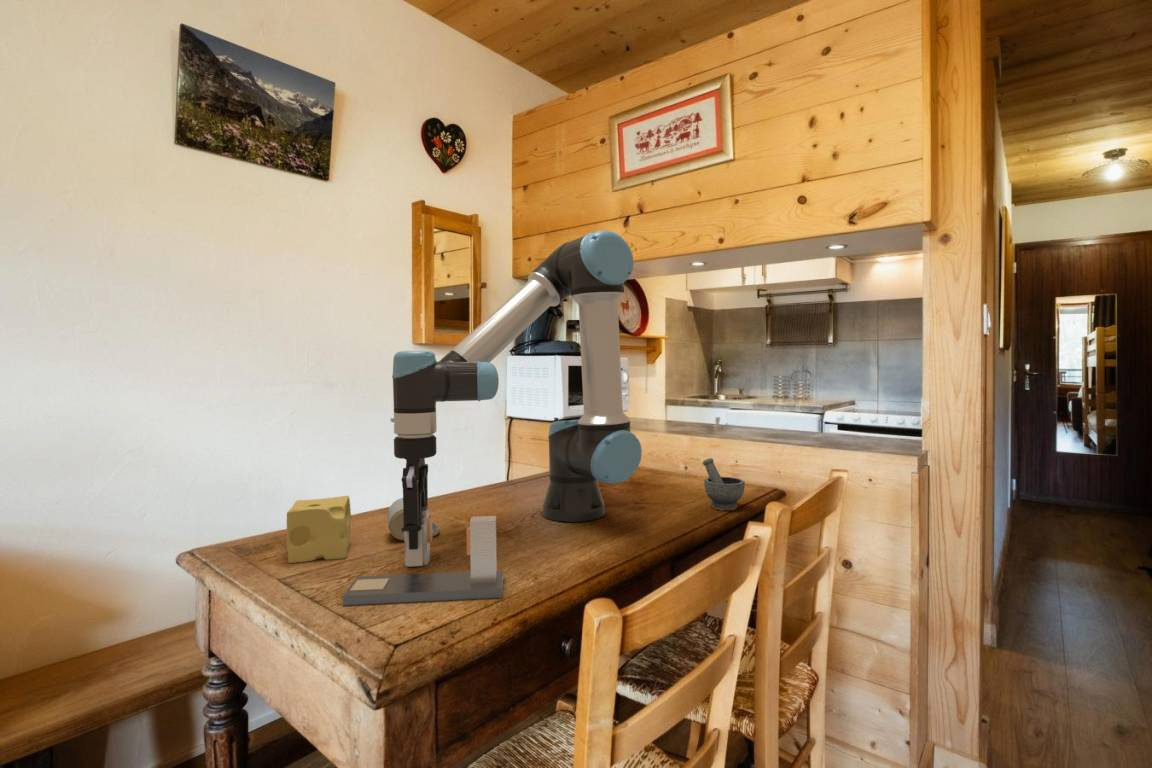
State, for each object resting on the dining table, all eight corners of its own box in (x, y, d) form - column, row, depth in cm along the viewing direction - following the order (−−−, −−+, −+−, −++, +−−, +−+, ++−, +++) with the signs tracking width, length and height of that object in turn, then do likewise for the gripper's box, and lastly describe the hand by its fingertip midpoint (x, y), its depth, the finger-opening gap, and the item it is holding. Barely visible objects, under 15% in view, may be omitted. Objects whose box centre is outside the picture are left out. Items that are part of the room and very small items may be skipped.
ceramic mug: (388, 544, 116) (388, 507, 116) (387, 533, 124) (387, 498, 123) (441, 539, 119) (441, 503, 119) (437, 529, 127) (437, 495, 127)
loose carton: (433, 559, 107) (432, 506, 106) (430, 564, 104) (429, 510, 103) (408, 560, 106) (407, 507, 106) (404, 565, 103) (403, 511, 103)
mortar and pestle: (751, 508, 143) (752, 460, 142) (729, 514, 137) (729, 465, 136) (714, 500, 151) (714, 455, 151) (692, 505, 145) (692, 459, 145)
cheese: (346, 559, 107) (345, 506, 107) (284, 565, 104) (282, 511, 104) (352, 542, 117) (351, 494, 117) (294, 547, 114) (293, 498, 114)
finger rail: (503, 578, 97) (502, 511, 96) (502, 597, 89) (501, 524, 88) (357, 585, 94) (356, 516, 94) (342, 605, 86) (341, 530, 86)
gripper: (403, 430, 112) (405, 547, 113) (383, 441, 95) (385, 579, 96) (442, 429, 113) (443, 545, 114) (428, 440, 96) (430, 577, 97)
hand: (417, 560), depth 105 cm, fingers open, 4 cm apart
